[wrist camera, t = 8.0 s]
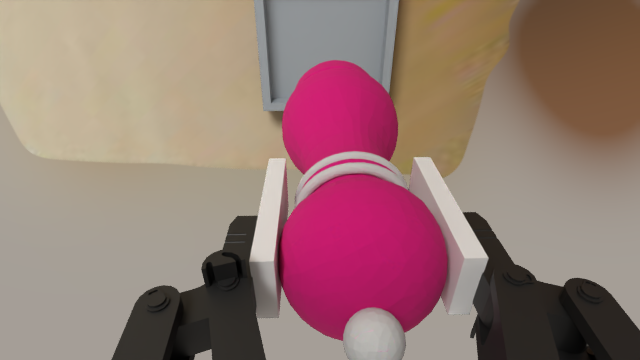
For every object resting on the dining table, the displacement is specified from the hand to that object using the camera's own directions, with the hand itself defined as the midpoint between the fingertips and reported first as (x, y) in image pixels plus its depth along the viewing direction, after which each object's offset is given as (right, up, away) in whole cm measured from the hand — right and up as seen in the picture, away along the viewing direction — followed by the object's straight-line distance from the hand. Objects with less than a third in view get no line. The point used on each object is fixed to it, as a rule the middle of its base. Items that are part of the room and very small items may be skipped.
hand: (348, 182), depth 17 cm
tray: (-1, +17, +28) cm, 33 cm away
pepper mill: (0, +6, +9) cm, 11 cm away
